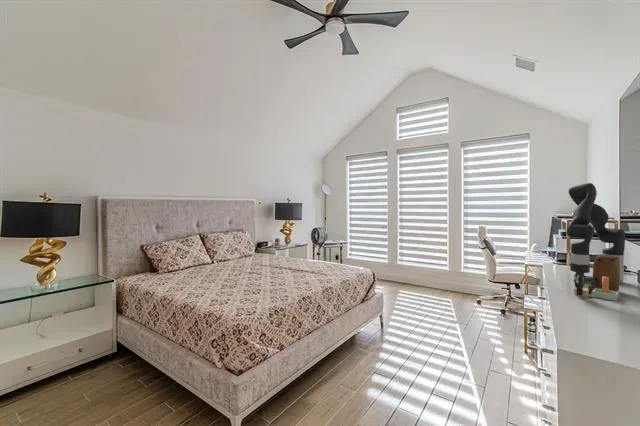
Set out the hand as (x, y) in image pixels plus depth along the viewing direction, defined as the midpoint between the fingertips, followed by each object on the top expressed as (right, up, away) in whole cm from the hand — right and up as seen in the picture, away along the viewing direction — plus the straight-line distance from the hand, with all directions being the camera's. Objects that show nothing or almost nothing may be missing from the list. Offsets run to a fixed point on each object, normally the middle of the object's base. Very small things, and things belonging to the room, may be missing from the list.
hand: (579, 295), depth 147 cm
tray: (+13, -1, 0) cm, 13 cm away
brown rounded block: (+25, -1, +11) cm, 27 cm away
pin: (+13, 0, -1) cm, 13 cm away
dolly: (+13, -1, +10) cm, 16 cm away
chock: (+4, -1, +3) cm, 5 cm away
